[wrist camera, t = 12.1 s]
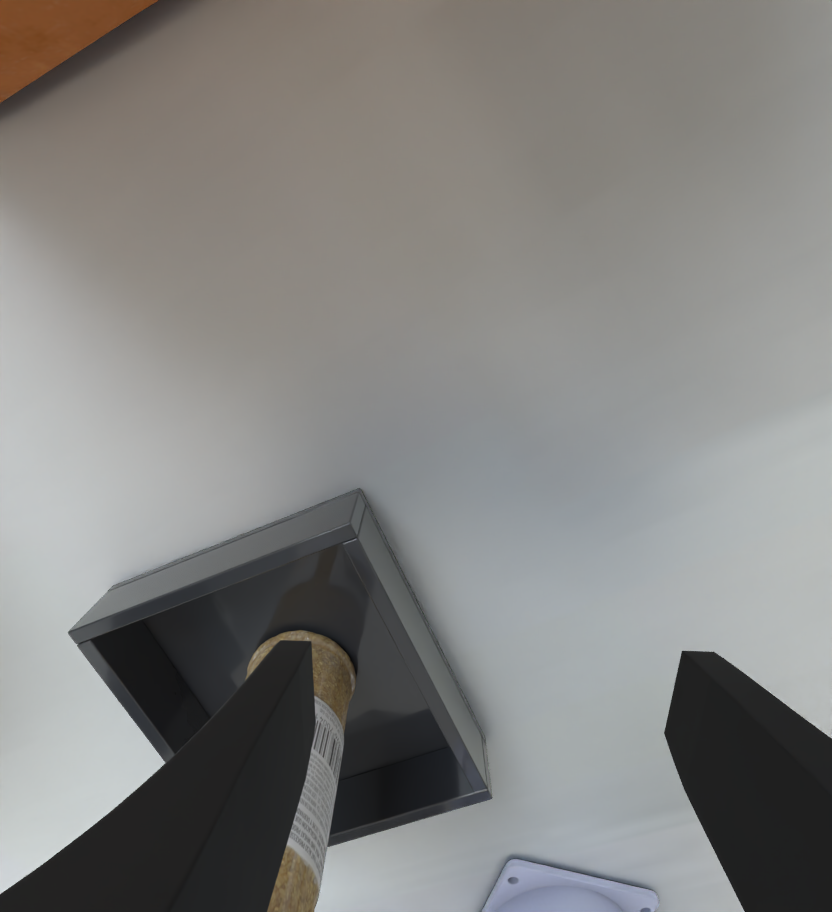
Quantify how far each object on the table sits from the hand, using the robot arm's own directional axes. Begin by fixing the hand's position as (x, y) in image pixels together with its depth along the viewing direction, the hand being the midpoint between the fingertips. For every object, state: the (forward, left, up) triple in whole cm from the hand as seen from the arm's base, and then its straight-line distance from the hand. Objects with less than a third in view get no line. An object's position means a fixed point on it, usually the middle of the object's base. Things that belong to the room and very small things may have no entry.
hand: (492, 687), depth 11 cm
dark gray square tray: (-10, +4, -10) cm, 15 cm away
